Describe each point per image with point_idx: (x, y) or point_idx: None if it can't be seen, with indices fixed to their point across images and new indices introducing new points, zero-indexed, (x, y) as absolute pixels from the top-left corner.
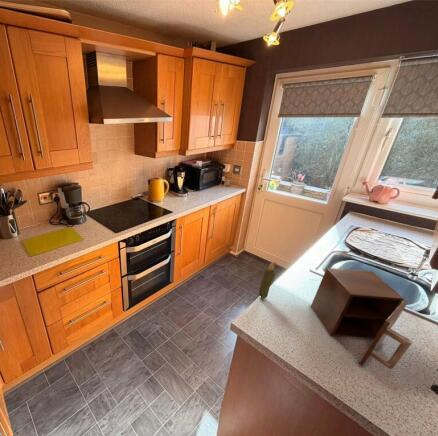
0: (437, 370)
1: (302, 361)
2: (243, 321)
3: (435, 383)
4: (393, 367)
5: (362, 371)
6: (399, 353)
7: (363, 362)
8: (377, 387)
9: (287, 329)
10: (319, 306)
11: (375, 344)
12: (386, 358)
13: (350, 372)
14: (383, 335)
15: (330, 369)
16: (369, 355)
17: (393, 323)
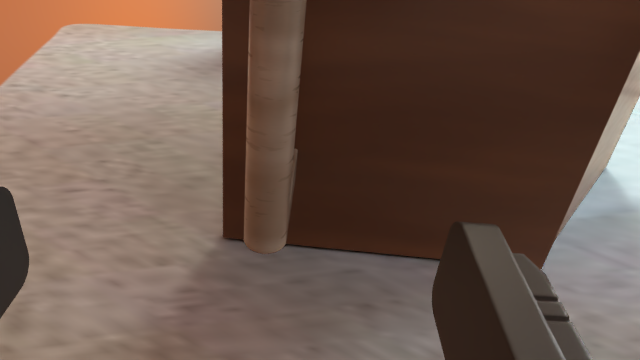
0: (433, 291)
1: (29, 116)
2: (100, 27)
3: (4, 189)
4: (258, 234)
5: (180, 247)
6: (249, 58)
7: (224, 211)
8: (105, 310)
9: (183, 77)
10: None
11: (222, 26)
12: (291, 188)
13: (118, 217)
14: (334, 1)
15: (64, 170)
16: (240, 157)
17: (548, 11)
